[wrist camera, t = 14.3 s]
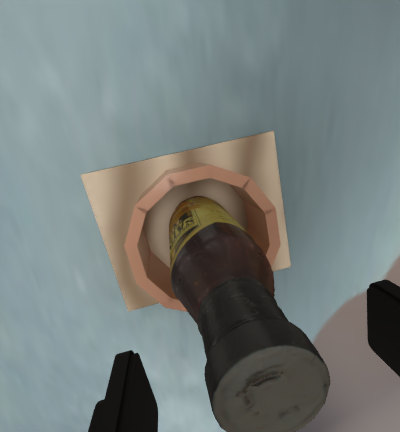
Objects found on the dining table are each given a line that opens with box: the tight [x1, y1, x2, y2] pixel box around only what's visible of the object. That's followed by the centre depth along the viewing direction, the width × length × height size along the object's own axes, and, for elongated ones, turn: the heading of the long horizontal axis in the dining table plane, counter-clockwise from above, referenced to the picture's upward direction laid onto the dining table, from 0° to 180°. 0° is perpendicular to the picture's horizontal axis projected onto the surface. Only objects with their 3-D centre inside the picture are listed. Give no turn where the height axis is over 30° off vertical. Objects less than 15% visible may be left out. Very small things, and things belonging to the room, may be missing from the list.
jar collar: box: [124, 162, 281, 312], centre depth 24 cm, size 13×13×6 cm
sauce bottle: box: [169, 196, 330, 432], centre depth 17 cm, size 6×6×20 cm
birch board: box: [81, 131, 291, 311], centre depth 28 cm, size 20×16×2 cm
